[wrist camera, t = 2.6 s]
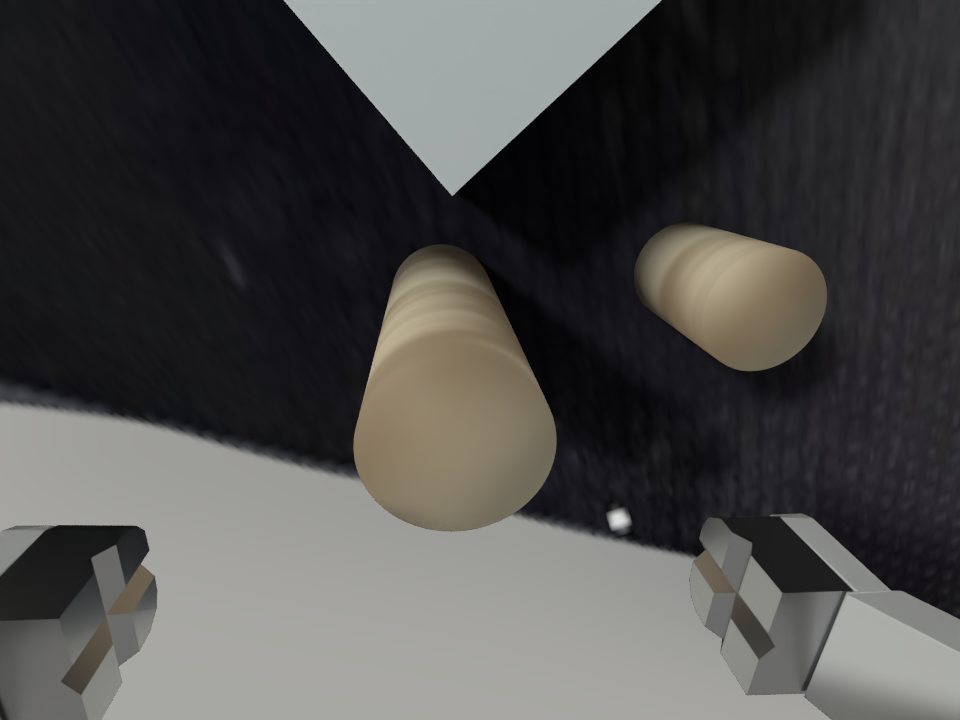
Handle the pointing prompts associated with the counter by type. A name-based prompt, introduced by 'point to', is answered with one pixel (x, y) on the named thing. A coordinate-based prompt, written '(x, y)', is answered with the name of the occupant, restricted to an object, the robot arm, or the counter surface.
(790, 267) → the short pin
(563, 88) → the hole board
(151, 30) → the counter surface
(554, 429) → the tall pin
